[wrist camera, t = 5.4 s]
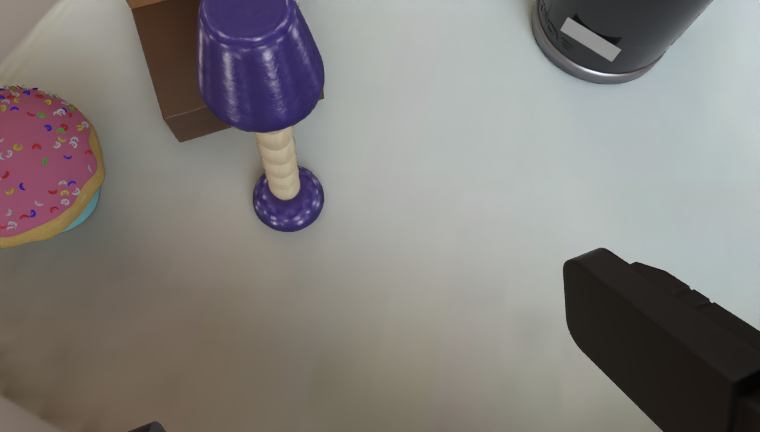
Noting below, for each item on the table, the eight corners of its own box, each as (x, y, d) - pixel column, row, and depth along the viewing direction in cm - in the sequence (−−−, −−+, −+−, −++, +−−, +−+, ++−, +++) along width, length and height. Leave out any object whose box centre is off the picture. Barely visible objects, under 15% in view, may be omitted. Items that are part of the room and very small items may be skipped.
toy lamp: (307, 150, 33) (268, -77, 17) (349, 208, 32) (348, 24, 16) (240, 190, 32) (131, -13, 16) (281, 252, 30) (207, 100, 15)
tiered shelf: (268, -39, 37) (249, -141, 30) (324, 99, 34) (317, 21, 27) (135, -5, 36) (82, -104, 29) (179, 143, 32) (131, 73, 25)
